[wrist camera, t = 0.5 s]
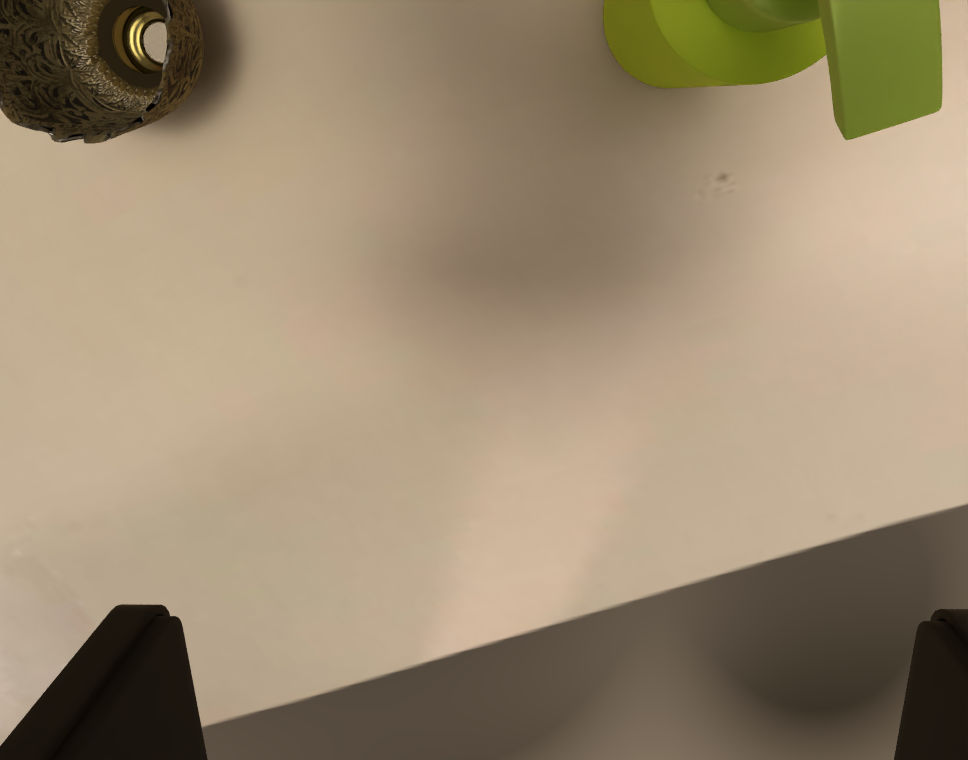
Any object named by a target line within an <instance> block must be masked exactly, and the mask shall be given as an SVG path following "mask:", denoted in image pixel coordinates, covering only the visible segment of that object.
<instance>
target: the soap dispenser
mask: <svg viewBox="0 0 968 760" xmlns="http://www.w3.org/2000/svg"><path fill="white" fill-rule="evenodd" d="M603 24H604V31H605V36H606V39H607V43H608V45H609V48H610V50H611V52H612V54H613V56H614V57H615V59H616V60H617V62H618V63H619V64H620V65H621V67H622V68H623V69H624V70H625V71H626V72H628V73H629V74H630V75H631V76H633V77H634V78H636V79H637V80H639V81H641V82H643V83H646V84H648V85H651V86H655V87H661V88H685V87H707V86H730V85H752V84H763V83H769V82H773V81H777V80H781V79H784V78H787V77H789V76H792V75H794V74H796V73H798V72H800V71H802V70H804V69H806V68H808V67H809V66H811V65H813V64H814V63H816V62H817V61H818V60H820V59H821V58H822V57H824V56H825V55H826V54H827V59H828V66H829V74H830V82H831V91H832V100H833V110H834V117H835V121H836V124H837V126H838V127H839V129H840V131H841V133H842V135H843V137H844V139H846V140H850V139H854V138H857V137H860V136H863V135H867V134H870V133H873V132H876V131H879V130H882V129H886V128H889V127H892V126H895V125H898V124H901V123H904V122H907V121H910V120H914V119H917V118H920V117H923V116H926V115H929V114H932V113H935V112H937V111H939V110H940V108H941V106H942V45H941V24H940V9H939V0H605V1H604V9H603Z"/></svg>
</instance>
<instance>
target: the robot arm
mask: <svg viewBox="0 0 968 760" xmlns="http://www.w3.org/2000/svg"><path fill="white" fill-rule="evenodd" d="M0 760H207V755H206V749H205V744H204V739H203V733H202V728H201V723H200V717H199V712H198V707H197V701H196V696H195V691H194V685H193V680H192V675H191V669H190V664H189V659H188V653H187V648H186V643H185V637H184V632H183V627H182V623H181V621H180V619H179V618H178V617H176V616H170V614H169V611H168V610H167V608H166V607H165V606H163V605H118V606H116V607H115V608H114V609H112V610H111V611H110V613H109V614H108V615H107V616H106V618H105V619H104V620H103V621H102V622H101V624H100V625H99V626H98V627H97V629H96V630H95V631H94V632H93V633H92V635H91V636H90V637H89V638H88V640H87V641H86V642H85V643H84V644H83V646H82V647H81V648H80V649H79V651H78V652H77V653H76V654H75V655H74V657H73V658H72V659H71V660H70V662H69V663H68V664H67V665H66V666H65V668H64V669H63V670H62V671H61V673H60V674H59V675H58V676H57V677H56V679H55V680H54V681H53V682H52V684H51V685H50V686H49V687H48V688H47V690H46V691H45V692H44V693H43V695H42V696H41V697H40V698H39V699H38V701H37V702H36V703H35V704H34V706H33V707H32V708H31V709H30V710H29V712H28V713H27V714H26V715H25V717H24V718H23V719H22V720H21V721H20V723H19V724H18V725H17V726H16V728H15V729H14V730H13V731H12V732H11V734H10V735H9V736H8V737H7V739H6V740H5V741H4V742H3V743H2V745H1V746H0ZM894 760H968V609H940V610H937V611H935V612H934V614H933V615H932V617H931V620H930V621H924V622H922V623H920V624H919V626H918V629H917V633H916V638H915V644H914V649H913V655H912V661H911V666H910V672H909V678H908V683H907V689H906V695H905V701H904V706H903V711H902V717H901V724H900V729H899V734H898V740H897V746H896V751H895V757H894Z"/></svg>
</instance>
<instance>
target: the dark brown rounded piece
mask: <svg viewBox="0 0 968 760" xmlns="http://www.w3.org/2000/svg"><path fill="white" fill-rule="evenodd" d="M153 22H163V23H165V25H166V29H167V51H166V57H165V60H164V63H159V62H156V61H154V60H152V59H151V58H150V57H149V56H148V55H147V54H146V52H145V51H144V49H143V45H142V34H143V31H144V29H145V28H146V27H147V26H148V25H149V24H151V23H153ZM203 54H204V40H203V33H202V28H201V23H200V20H199V17H198V14H197V11H196V9H195V7H194V5H193V3H192V1H191V0H0V108H1V110H2V111H3V113H4V114H5V115H6V116H7V118H8V119H10V121H11V122H13V123H15V124H17V125H19V126H22V127H25V128H29V129H32V130H36V131H43V132H47V133H48V134H49V133H52V134H53V135H50V134H49V135H50V136H51V138H52V140H54V141H55V142H67V141H72V140H77V139H84V142H85V143H99V142H104V141H107V140H108V139H110V138H111V139H112V138H115V137H117V136H119V135H121V134H124V133H127V132H130V131H132V130H135V129H138V128H140V127H143V126H145V125H148V124H150V123H153V122H155V121H157V120H159V119H161V118H163V117H164V116H166V115H168V114H169V113H171V112H172V111H173V110H175V109H176V108H177V107H178V106H179V105H180V104H181V103H182V102H183V101H184V100H185V99H186V98H187V97H188V95H189V94H190V93H191V91H192V90H193V88H194V86H195V85H196V82H197V80H198V78H199V75H200V72H201V68H202V63H203Z"/></svg>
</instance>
